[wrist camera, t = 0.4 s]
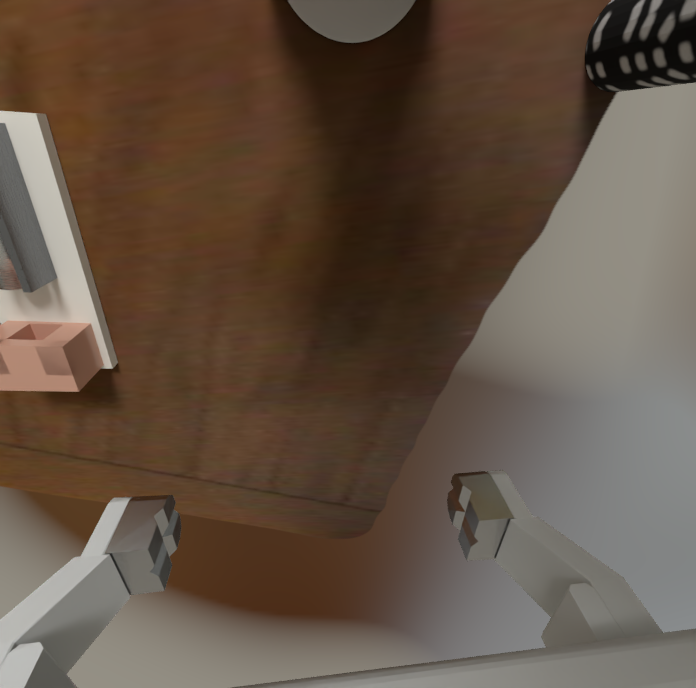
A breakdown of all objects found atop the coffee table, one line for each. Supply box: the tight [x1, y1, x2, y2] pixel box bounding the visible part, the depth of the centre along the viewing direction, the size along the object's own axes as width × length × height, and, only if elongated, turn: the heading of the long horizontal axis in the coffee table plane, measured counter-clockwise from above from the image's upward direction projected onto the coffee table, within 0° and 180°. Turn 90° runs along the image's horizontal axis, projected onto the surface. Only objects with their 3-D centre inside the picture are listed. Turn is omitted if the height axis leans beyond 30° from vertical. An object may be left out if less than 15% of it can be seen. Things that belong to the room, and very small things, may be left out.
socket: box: [0, 320, 104, 392], centre depth 47 cm, size 6×10×6 cm, turn 86°
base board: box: [0, 111, 118, 369], centre depth 44 cm, size 30×12×2 cm, turn 176°
